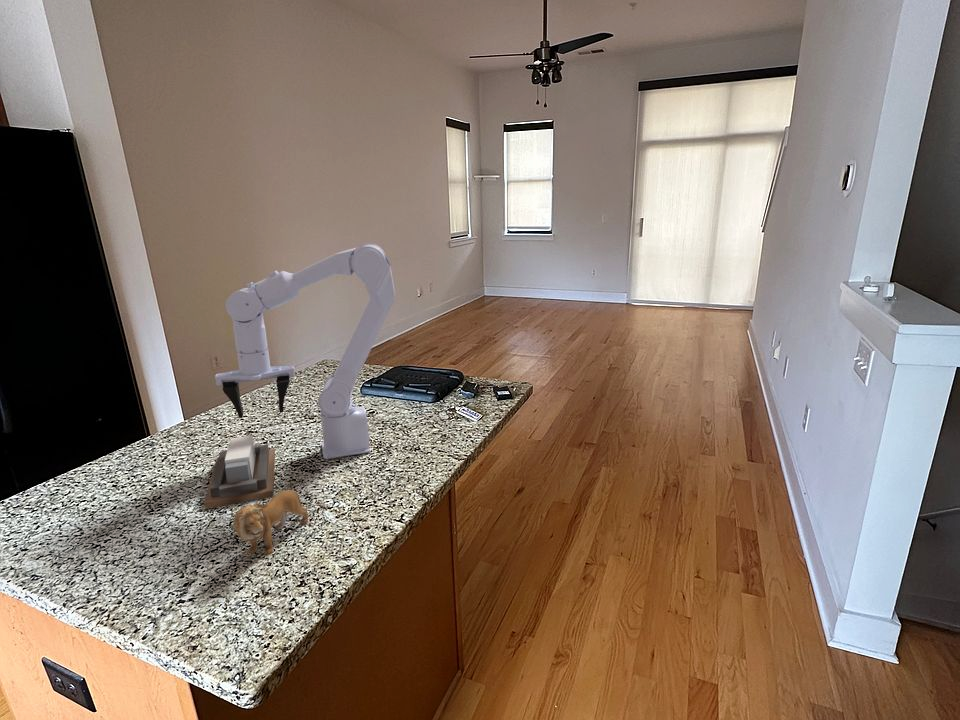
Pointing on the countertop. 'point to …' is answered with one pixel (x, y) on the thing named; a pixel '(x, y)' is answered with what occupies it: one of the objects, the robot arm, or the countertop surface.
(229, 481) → the white pillar grey cap
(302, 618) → the countertop surface
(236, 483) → the cradle jig
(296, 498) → the lion figurine
